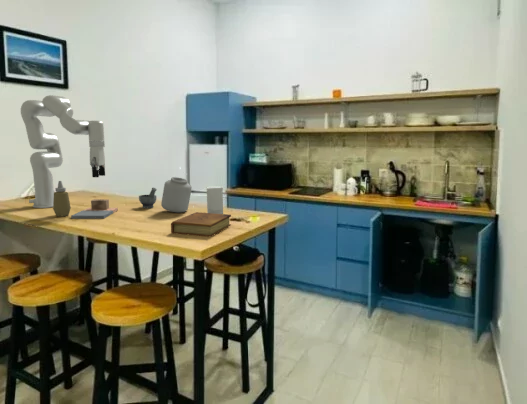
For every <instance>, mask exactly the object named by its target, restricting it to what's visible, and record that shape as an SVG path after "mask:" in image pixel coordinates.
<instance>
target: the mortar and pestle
mask: <svg viewBox="0 0 527 404" xmlns="http://www.w3.org/2000/svg"><path fill="white" fill-rule="evenodd" d="M157 190H158V189H157V188H156V187H152V188H151V191H150V192H149V194H141V195H138V201H139V204H141V205H142V206H141V207H142V208H143V209H153V208H154V205H155V203H156V202H157V195H156V191H157Z"/></svg>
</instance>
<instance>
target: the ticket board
mask: <svg viewBox="0 0 527 404" xmlns="http://www.w3.org/2000/svg"><path fill="white" fill-rule="evenodd" d="M83 210H84V209H83ZM83 210H80V211H78V212H76V213H74V214H72V215H70V219H75V220H76V219H79V220H81V219H87V220H88V219H90V220H92V219H94V220H95V219H96V220H97V219H98V220H99V219H102V220H103V219H104V220H105V219H106V218H108V217H109V216H111V215H112V214H114V213H113V211H110V210H108V211H106V210H104V211H101V210H99V211H96V210H94V211H91V210H89V211H86V210H84V211H83Z"/></svg>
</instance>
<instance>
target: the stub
mask: <svg viewBox="0 0 527 404" xmlns="http://www.w3.org/2000/svg"><path fill="white" fill-rule="evenodd" d="M90 206H91V207H87V208H85V209H82V211H84V210H86V211H89V210H91V211H94V210H96V211H99V210H101V211H104V210H106V211H108V210H110V211H113V214H114V213H115V212H117V211H118V207H110V200H109V199H105V198H104V199H95V198H94V199H91V200H90Z"/></svg>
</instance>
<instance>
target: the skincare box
mask: <svg viewBox="0 0 527 404" xmlns="http://www.w3.org/2000/svg"><path fill="white" fill-rule="evenodd" d="M223 190H224V189H223V186H222V185H221V186H220V185H219V186H217V185H216V186H207V187H206V202H207V203H206V208H207V212H206V213H214V214H224V196H223Z"/></svg>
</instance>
